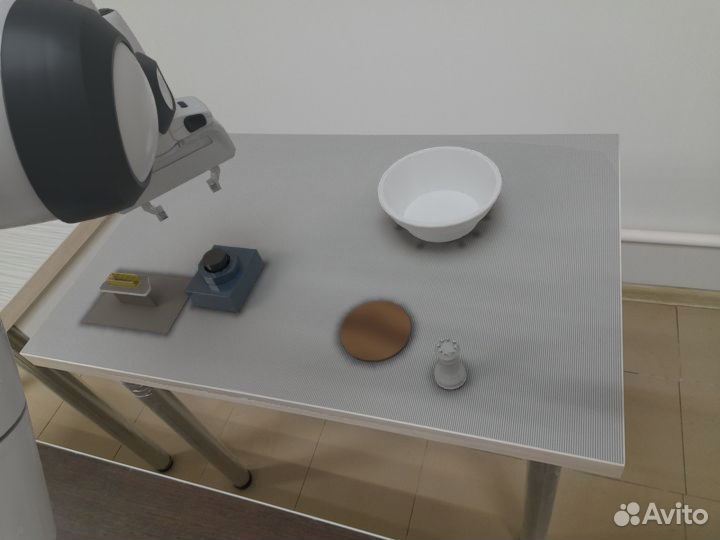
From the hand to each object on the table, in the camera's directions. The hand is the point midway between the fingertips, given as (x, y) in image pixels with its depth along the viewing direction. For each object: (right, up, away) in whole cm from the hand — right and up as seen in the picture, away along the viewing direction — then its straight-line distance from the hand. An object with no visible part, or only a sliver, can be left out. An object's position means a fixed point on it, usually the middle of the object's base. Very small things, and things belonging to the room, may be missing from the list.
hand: (190, 203), depth 84 cm
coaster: (+30, -20, -3) cm, 36 cm away
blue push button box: (+4, -13, +10) cm, 17 cm away
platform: (-13, -16, +12) cm, 24 cm away
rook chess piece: (+40, -26, -10) cm, 49 cm away
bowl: (+42, -1, +11) cm, 44 cm away
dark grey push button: (+3, -10, +6) cm, 12 cm away
